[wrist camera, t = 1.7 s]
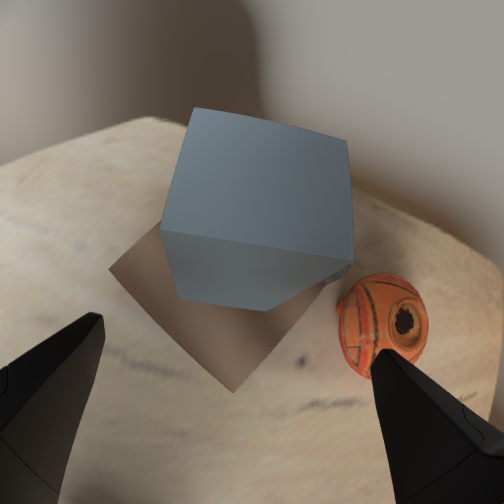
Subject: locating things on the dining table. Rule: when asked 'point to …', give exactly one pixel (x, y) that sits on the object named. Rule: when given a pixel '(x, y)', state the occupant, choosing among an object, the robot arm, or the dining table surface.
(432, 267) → the dining table surface
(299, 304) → the plate
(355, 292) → the pot
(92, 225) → the dining table surface
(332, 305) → the dining table surface
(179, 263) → the blue-grey carton
